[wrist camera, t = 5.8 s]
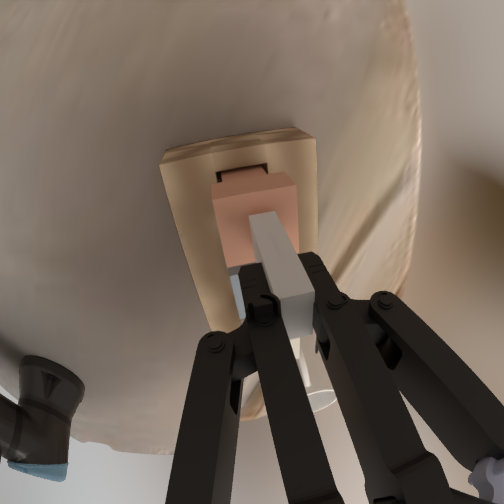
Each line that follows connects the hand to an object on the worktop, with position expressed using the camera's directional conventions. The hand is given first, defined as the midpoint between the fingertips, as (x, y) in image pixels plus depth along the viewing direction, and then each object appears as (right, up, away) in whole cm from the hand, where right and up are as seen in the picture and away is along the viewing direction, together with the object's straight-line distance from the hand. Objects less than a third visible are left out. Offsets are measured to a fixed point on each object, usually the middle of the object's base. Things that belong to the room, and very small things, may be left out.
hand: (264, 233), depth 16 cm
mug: (+5, -13, +25) cm, 28 cm away
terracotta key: (-1, +4, +6) cm, 8 cm away
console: (-1, +1, +13) cm, 13 cm away
